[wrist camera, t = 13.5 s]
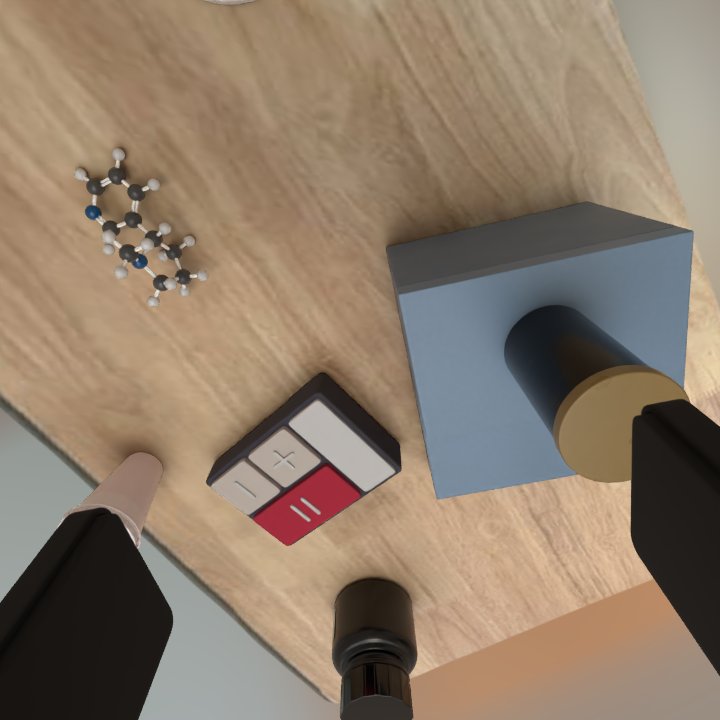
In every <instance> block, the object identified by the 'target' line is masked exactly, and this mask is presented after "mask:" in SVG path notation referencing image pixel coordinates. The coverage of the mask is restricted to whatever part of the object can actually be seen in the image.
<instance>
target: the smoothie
mask: <svg viewBox="0 0 720 720" xmlns="http://www.w3.org/2000/svg"><path fill="white" fill-rule="evenodd" d="M162 474H163V467H162V464H161V463H160V461H159V460H158V459H157V458H156V457H154V456H153V455H150V454H148V453H143V452H138V453H134V454H132V455H130V456H129V457H128V458H127V459H126V460H125V461H124V462H123V463H122V464H121V465H120V466H119V467H118V468H117V469H116V470H115V471H114V472H113V473H112V474H111V475H110V476H108V477H107V478H106V479H105V480H104V481H103V482H102V483H101V484H100V485H99V486H98V487H97V488H96V489H95V490H94V491H93V492H92V493H91V494H90V495H89V497H88V498H86V499H85V500H84V501H83V502H82V503H81V504H80V505H78V506H76V507H74V508H72V509H70V510H69V511H68V512H67V513H66V514H65V516H64V518H63V520H64V519H65V518H66V517H67V516H68V515H69V514H71V513H74V512H79V511H84V510H89V509H95V508H100V507H102V508H107V509H108V510H110V512H111V513H114V514H117V515H118V516H119V517H120V518H121V520H122V522H123V524H124V526H125V527H126V529H127V531H128V533H129V534H130V536H131V538H132V540H133V542H134V543H135V545H136V547H137V549H138V548H139V547H140V542H141V535H140V533H141V530H142V528H143V525H144V522H145V519H146V517H147V514H148V511H149V509H150V506H151V503H152V501H153V498H154V495H155V493H156V490H157V487H158V484H159V482H160V479H161V476H162ZM63 520H62V521H61V522H60V523H59V525H58V527H59V526H60V524H61V523H62V522H63ZM58 527H57V528H58Z"/></svg>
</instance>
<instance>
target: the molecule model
mask: <svg viewBox="0 0 720 720" xmlns="http://www.w3.org/2000/svg"><path fill="white" fill-rule="evenodd" d="M112 156H113V158H114V159H116V167H114V168H111V169H110V170H109V171H108V178H106V179H104V180H102V181H100V180H98V179H95V178H94V179H90V180H89V179H88V178H87V173H86V171H85V170H83V169H81V168H78V169H76V170H75V171H74V176H75V177H76V178H77V179H78V180H85V181H86V182H87V184H86V188H87V190H88V192H89V193H91V194H92V195H93V201H92V205H89V206H87V207H86V209H85V214H86V216H87V217H88V218H89V219H91V220H97V221H98V222H99V223H100V224H101V225H103V226H102V230H103V233H102V239H103V241H104V242H106V243H108V244H105V245H104V246H103V248H102V249H103V252H104V253H105V254H107V255H112V254H114V252H115V247H114V246H113V245H112V244H111V243H114V244H115V245H116V246H118V247H119V248H120V249H119V256H120V258H121V259H122V260H123V263H122V266H117V267H116V268H115V269H114V274H115V276H116V277H117V278H120V279H124V278H126V277H127V275H128V270H127V269H126V268H125V267H126V264H127V262H131V263H132V265H133V266H134V267H135V268H137V269H143V268H144V269H146V270H147V271H148V272H149V273H150V274H151V275H152V276H153V277H154V280H153V285H154V287H155V288H156V289H157V290H156V292H155V294H154V296H150V297H148V299H147V303H148V305H149V306H151V307H156V306H158V305H159V302H160V301H159V298H158V294H159V292H160V291H166V290H168V289H169V290H173V289H175V288H176V287H177V282H178V283H179V284H181V285H182V286H181V287H180V288H179V293H180V295H182V296H188V295H189V294H190V289H189V287H187V286H186V284H188V283H189V282H190V281H191V278H195V277H197V278H198V279H199V280H201V281H204V280H206V279H207V278H208V273H207V271H205V270H199V271H198V272H197V274H192V275H191V274H190V272H189V271H188V270H185V269H182V268H181V265H180V263H179V260H178V259H179V258H180V257H181V255H182V251H181V249H182V248H183V247H185V246H189V247H191V246H193V245H194V244H195V239H194V238H193V237H192V236H186V237H185V238H184V243H183V244H182V245H180V246H177V245H174V244H171V245H169V246H166V245H165V244H164V243H162V241H163V239H162V236H161V234H169V233H170V232H171V226H170V225H169V224H168V223H166V222H163V223H161V224H160V225H159V232H157V231H154V230H152V231H149V232H148V231H147V230H146V229H145V228H144V227H143V226H142V225H141V224H142V218H141V216H140V215H139V214H138V213H137V211H138V203H139V201H141V200H143V199H144V197H145V191H146V190H148V189H151V190H153V191H157V190H158V189H159V188H160V183H159V181H158V180H157V179H150V180H149V181H148V186H145V187H142V186H140V185H138V184H132V185H129V184H128V183H127V182H126V181H125V180H126V175H125V173H124V171H123V170H122V169H120V168H119V167H120V161H122V160H123V159H124V158H125V153H124V151H123V150H121V149H119V148H116V149H114V150H113V151H112ZM108 180H109V181H108ZM106 181H107V182H106ZM104 182H105V183H104ZM111 182H112V183H113V184H116V185H120V184H124V185H125V186H126V187H128V190H127V193H128V196H129V197H130V198H131V199H132V200H133V203H132V211H130V212H128V213H126V215H125V217H124V222H122V223H120V224H117V223H116V222H114V221H105V220H104V219H103V218H102V217H101V215H102V212H101V210H100V208H99V207H97V206H96V198H97V196H98V195H101V194H102V193H103V192H104V190H105V187H104V186H105V185H107V184H109V183H111ZM135 201H136V206H135ZM134 208H135V212H134ZM99 218H100V219H101V220H102V221H103V222H104V223H103V222H102V221H100V220H99ZM124 225H127V226H129V227H131V228H138V227H139V228H140V229H141V230H142V231H143V232H144V233H146V235H145V239H143V240H142V241H141V243H140V246H139V247H137V248H135V247H134V246H133V245H130V244H126V245H123V246H122V245H121V244H120V243H118V242H117V241H116V236H117V235H118V234H119V233H120V227H122V226H124ZM160 245H161V246H162V247H164V248H165V249H166V250H165V251H163V250H162V251H160V252H159V253H158V258H159V260H161V261H167V260H168V259H171V260H175V262H176V264H177V267H178V269H179V270H178V271H177V272H176V274H175V278H168V277H167V276H165V275H156V274H155V273H154V272H152V271H151V270H150V269H149V268H148V267H147V264H148V260H147V258H146V256H145V255H146V254H147V252H148V251H151V250H152V249H153V248H154V247H158V246H160ZM142 249H143V250H144V252H143V253H142V254H138V251H139V250H142Z"/></svg>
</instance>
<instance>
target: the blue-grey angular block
mask: <svg viewBox="0 0 720 720" xmlns="http://www.w3.org/2000/svg"><path fill="white" fill-rule="evenodd" d="M693 234H694V233H693V231H692V230H688V229H684V228H681V227H677V226H674V225H670V224H667V223H663V222H659V221H656V220H652V219H648V218H645V217H641V216H638V215H634V214H630V213H627V212H623V211H620V210H616V209H612V208H609V207H605V206H601V205H598V204H594V203H591V202H584V203H579V204H575V205H571V206H566V207H562V208H557V209H553V210H548V211H544V212H540V213H535V214H531V215H526V216H522V217H517V218H513V219H508V220H504V221H500V222H495V223H491V224H486V225H482V226H477V227H473V228H468V229H464V230H460V231H455V232H451V233H446V234H442V235H437V236H433V237H428V238H424V239H420V240H415V241H411V242H406V243H402V244H397V245H393V246H388V247H386V252H387V257H388V262H389V267H390V272H391V277H392V282H393V287H394V292H395V297H396V302H397V307H398V312H399V317H400V322H401V327H402V332H403V337H404V342H405V347H406V352H407V357H408V361H409V367H410V372H411V377H412V382H413V387H414V392H415V397H416V402H417V407H418V412H419V417H420V422H421V427H422V432H423V437H424V442H425V447H426V452H427V457H428V462H429V467H430V471H431V476H432V480H433V485H434V489H435V494H436V498H437V499H443V498H449V497H454V496H460V495H466V494H471V493H477V492H482V491H488V490H494V489H499V488H505V487H511V486H516V485H522V484H527V483H533V482H539V481H544V480H550V479H556V478H561V477H567V476H572V475H578V474H577V473H576V472H574V471H573V470H572V469H571V468H570V467H569V466H568V465H567V464H566V463H565V461H564V460H563V458H562V457H561V455H560V454H559V452H558V450H557V448H556V445H555V442H554V438H553V437H552V435H551V434H550V432H549V431H548V429H547V427H546V426H545V424H544V423H543V421H542V420H541V418H540V417H539V415H538V414H537V412H536V411H535V409H534V408H533V406H532V405H531V403H530V401H529V400H528V398H527V397H526V395H525V394H524V392H523V391H522V389H521V388H520V386H519V385H518V383H517V382H516V380H515V379H514V377H513V375H512V374H511V372H510V371H509V369H508V367H507V365H506V362H505V358H504V347H505V342H506V339H507V337H508V334H509V333H510V331H511V329H512V328H513V326H514V325H515V324H516V323H517V322H518V321H519V320H520V319H521V318H522V317H523V316H525V315H526V314H528V313H529V312H531V311H533V310H535V309H538V308H540V307H544V306H549V305H563V306H568V307H571V308H574V309H576V310H577V311H579V312H581V313H582V314H583V315H584V316H586V317H587V318H588V319H589V320H591V321H592V322H593V323H595V324H596V325H597V326H598V327H600V328H601V329H602V330H604V331H605V332H606V333H607V334H609V335H610V336H611V337H613V338H614V339H615V340H616V341H618V342H619V343H620V344H621V345H623V346H624V347H625V348H627V349H628V350H629V351H630V352H632V353H633V354H634V355H636V356H637V357H638V358H639V359H641V360H642V361H643V362H645V363H646V364H647V365H648V366H650V367H651V368H654V369H657V370H659V371H661V372H663V373H665V374H666V375H667V376H669V377H670V378H671V379H673V380H674V381H675V382H676V383H678V384H679V385H680V386H681V387H682V388H683V389H684V376H685V360H686V344H687V329H688V313H689V297H690V281H691V266H692V250H693Z"/></svg>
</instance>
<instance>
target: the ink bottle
mask: <svg viewBox="0 0 720 720" xmlns="http://www.w3.org/2000/svg"><path fill="white" fill-rule="evenodd" d="M332 660H333V664H334V667H335V669H336V670H337V672H338V673H339V674H340V675H341V676H342V681H341V682H342V684H341V707H340V718H341V720H412V718H413V709H412V699H411V689H410V684H409V682H410V679H409V674H410V673H411V672H412V670H413V669H414V667H415V664H416V661H417V645H416V636H415V628H414V619H413V610H412V604H411V601H410V598H409V597H408V595H407V594H406V593H405V592H404V591H403V590H402V589H401V588H399V587H398V586H396V585H394V584H392V583H389V582H386V581H381V580H365V581H361V582H358V583H355V584H353V585H351V586H349V587H348V588H346V589H345V590H344V591H343V592H342V593H341V594H340V595H339V597H338V598H337V600H336V603H335V607H334V622H333V643H332Z"/></svg>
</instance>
